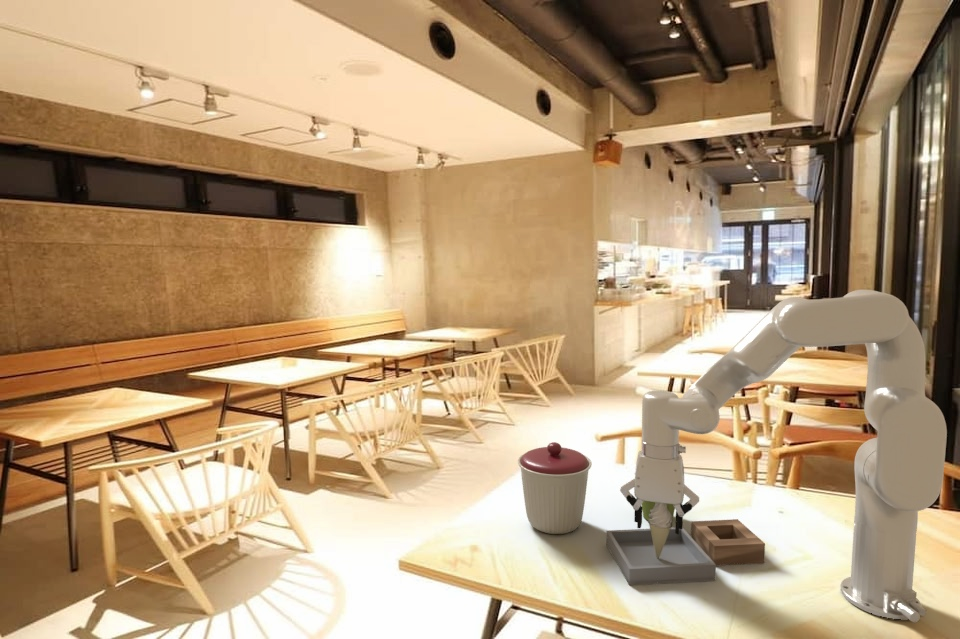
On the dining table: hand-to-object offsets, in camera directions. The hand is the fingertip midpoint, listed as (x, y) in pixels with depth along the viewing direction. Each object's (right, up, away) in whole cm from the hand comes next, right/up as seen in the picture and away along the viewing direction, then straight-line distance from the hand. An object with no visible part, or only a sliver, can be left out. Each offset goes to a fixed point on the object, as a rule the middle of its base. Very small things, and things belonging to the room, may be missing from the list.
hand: (658, 527), depth 120 cm
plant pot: (+7, -6, +21) cm, 23 cm away
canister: (-20, -6, +19) cm, 28 cm away
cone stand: (+17, -7, +5) cm, 19 cm away
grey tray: (0, -8, +1) cm, 8 cm away
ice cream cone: (0, -7, +1) cm, 7 cm away
